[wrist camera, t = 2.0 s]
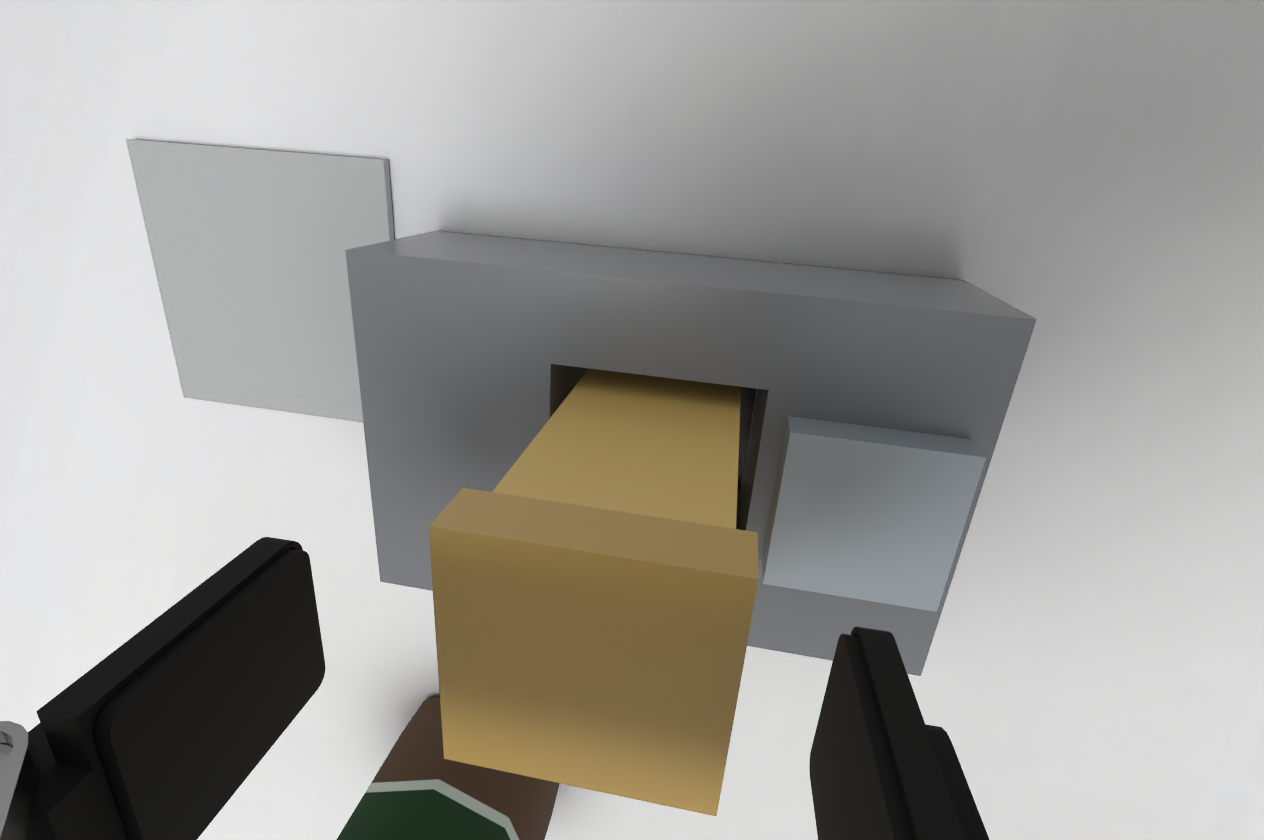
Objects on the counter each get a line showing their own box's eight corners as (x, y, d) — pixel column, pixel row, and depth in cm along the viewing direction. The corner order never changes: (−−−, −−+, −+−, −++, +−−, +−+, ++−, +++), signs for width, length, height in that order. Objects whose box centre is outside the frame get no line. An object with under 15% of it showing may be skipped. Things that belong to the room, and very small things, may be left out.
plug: (753, 345, 20) (758, 579, 9) (733, 480, 22) (716, 815, 10) (604, 328, 20) (428, 526, 9) (597, 461, 22) (444, 758, 11)
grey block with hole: (963, 280, 18) (1057, 330, 12) (884, 568, 22) (930, 704, 16) (437, 230, 20) (319, 255, 15) (450, 501, 24) (362, 602, 18)
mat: (388, 159, 19) (383, 159, 19) (408, 424, 23) (404, 428, 23) (133, 139, 21) (125, 139, 20) (189, 394, 24) (183, 397, 24)
